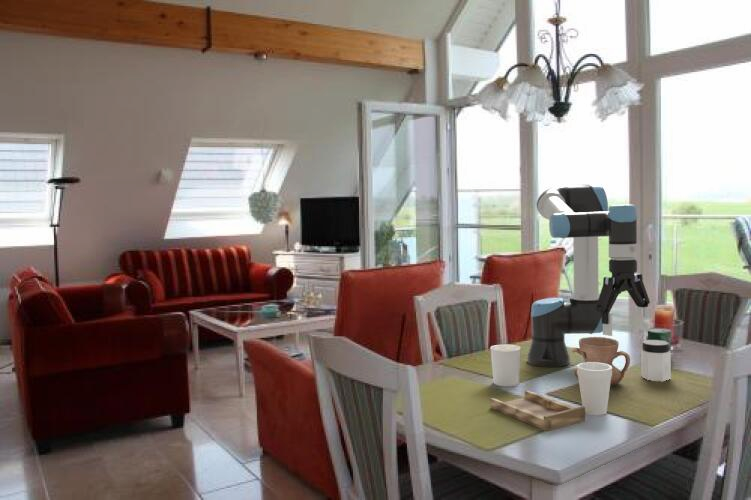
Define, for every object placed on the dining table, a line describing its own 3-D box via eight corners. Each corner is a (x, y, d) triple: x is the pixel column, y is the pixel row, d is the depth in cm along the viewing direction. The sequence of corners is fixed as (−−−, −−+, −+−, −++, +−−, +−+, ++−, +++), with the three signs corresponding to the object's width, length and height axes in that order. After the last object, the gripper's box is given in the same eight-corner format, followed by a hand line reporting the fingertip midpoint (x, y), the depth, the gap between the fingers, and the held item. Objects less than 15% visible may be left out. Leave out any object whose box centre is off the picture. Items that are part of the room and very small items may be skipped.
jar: (659, 383, 207) (659, 346, 206) (636, 378, 214) (636, 342, 213) (675, 378, 212) (675, 342, 211) (652, 373, 218) (652, 338, 217)
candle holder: (523, 379, 216) (522, 344, 215) (519, 388, 207) (518, 351, 206) (493, 378, 220) (492, 343, 219) (489, 386, 210) (488, 350, 209)
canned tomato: (645, 360, 235) (645, 331, 234) (649, 356, 241) (649, 327, 240) (669, 363, 230) (669, 332, 229) (672, 358, 237) (672, 328, 236)
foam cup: (572, 407, 187) (571, 363, 186) (603, 405, 188) (602, 361, 187) (585, 418, 178) (585, 371, 177) (618, 415, 178) (617, 369, 177)
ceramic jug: (568, 387, 206) (568, 344, 205) (573, 375, 219) (573, 334, 218) (628, 393, 199) (629, 348, 197) (630, 380, 212) (631, 337, 211)
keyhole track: (490, 407, 189) (490, 395, 189) (527, 399, 196) (527, 387, 195) (546, 431, 169) (546, 417, 168) (585, 420, 175) (585, 407, 175)
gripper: (603, 262, 175) (604, 339, 176) (662, 256, 187) (662, 328, 189) (581, 261, 181) (583, 335, 183) (640, 255, 194) (640, 324, 195)
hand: (623, 332), depth 186 cm, fingers open, 13 cm apart
